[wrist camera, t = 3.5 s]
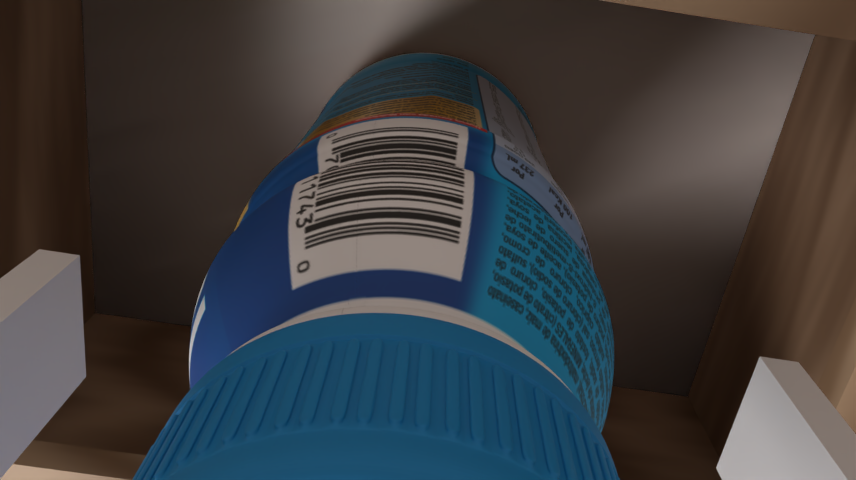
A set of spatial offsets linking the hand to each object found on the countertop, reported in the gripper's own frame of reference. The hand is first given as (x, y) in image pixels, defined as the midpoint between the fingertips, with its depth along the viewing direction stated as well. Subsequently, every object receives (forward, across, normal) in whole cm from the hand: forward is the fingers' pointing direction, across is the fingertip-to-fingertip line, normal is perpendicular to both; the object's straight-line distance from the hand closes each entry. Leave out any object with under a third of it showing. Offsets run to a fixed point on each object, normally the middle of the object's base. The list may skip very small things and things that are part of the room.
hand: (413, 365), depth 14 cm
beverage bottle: (+13, 0, 0) cm, 13 cm away
